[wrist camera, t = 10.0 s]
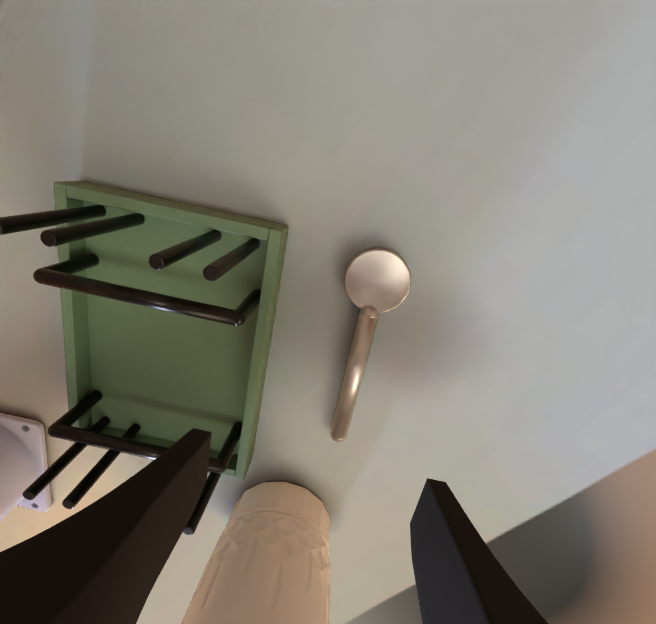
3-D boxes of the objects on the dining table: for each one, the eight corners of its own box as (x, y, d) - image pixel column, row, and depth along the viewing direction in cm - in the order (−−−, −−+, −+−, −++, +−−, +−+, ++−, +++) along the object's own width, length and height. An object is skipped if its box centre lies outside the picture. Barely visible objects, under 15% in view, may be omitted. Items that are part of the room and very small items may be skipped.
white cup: (296, 455, 24) (256, 632, 15) (359, 534, 26) (359, 732, 17) (205, 499, 26) (120, 678, 17) (270, 569, 28) (226, 764, 19)
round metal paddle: (363, 440, 24) (364, 451, 23) (310, 428, 24) (308, 439, 23) (417, 254, 19) (420, 259, 18) (352, 241, 19) (352, 244, 18)
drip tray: (252, 459, 25) (244, 479, 23) (89, 423, 25) (70, 441, 23) (288, 225, 19) (281, 231, 18) (79, 180, 19) (52, 181, 18)
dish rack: (241, 453, 24) (204, 539, 18) (93, 420, 24) (11, 496, 18) (271, 241, 19) (233, 271, 13) (84, 201, 19) (-31, 214, 13)
